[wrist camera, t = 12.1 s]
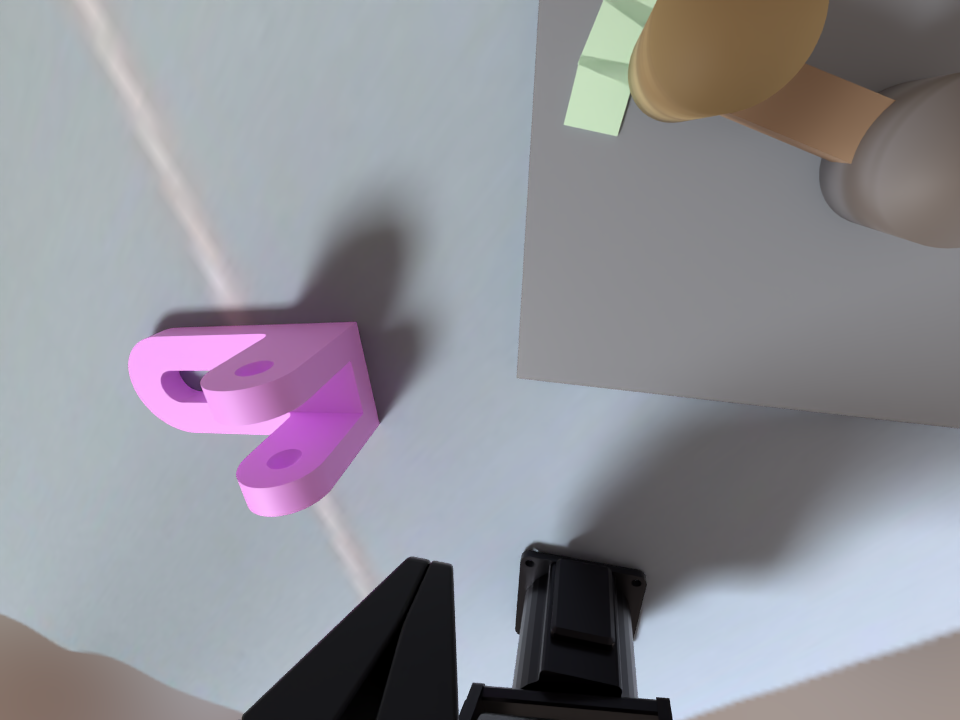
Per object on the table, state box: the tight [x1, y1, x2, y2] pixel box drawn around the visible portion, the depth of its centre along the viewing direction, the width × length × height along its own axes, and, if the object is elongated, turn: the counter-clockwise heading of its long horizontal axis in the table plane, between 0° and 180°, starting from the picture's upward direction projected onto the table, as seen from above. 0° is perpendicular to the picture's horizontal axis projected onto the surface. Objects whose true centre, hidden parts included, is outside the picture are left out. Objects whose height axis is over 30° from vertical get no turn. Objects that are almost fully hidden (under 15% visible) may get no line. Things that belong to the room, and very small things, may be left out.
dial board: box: [517, 0, 960, 428], centre depth 14 cm, size 19×22×1 cm
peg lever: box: [628, 0, 960, 249], centre depth 11 cm, size 10×4×6 cm, turn 69°
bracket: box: [128, 322, 380, 517], centre depth 21 cm, size 13×6×7 cm, turn 96°
